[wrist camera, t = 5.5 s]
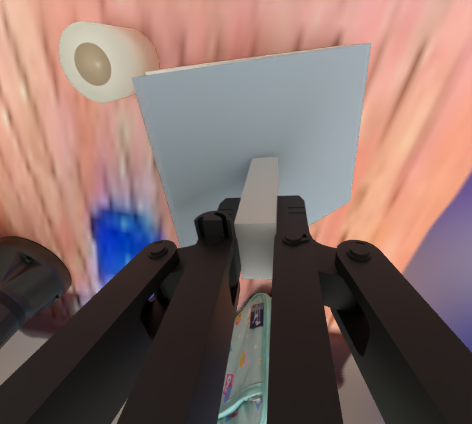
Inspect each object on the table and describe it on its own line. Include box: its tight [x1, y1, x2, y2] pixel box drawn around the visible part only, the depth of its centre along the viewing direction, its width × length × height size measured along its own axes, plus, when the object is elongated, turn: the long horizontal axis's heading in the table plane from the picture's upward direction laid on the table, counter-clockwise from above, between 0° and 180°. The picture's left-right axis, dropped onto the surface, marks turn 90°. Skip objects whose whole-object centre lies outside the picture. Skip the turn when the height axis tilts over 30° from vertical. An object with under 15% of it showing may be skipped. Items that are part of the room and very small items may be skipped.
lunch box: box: [217, 293, 272, 424], centre depth 40 cm, size 27×10×21 cm, turn 156°
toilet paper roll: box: [59, 21, 159, 103], centre depth 25 cm, size 6×6×7 cm
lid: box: [131, 43, 371, 248], centre depth 17 cm, size 16×12×1 cm
